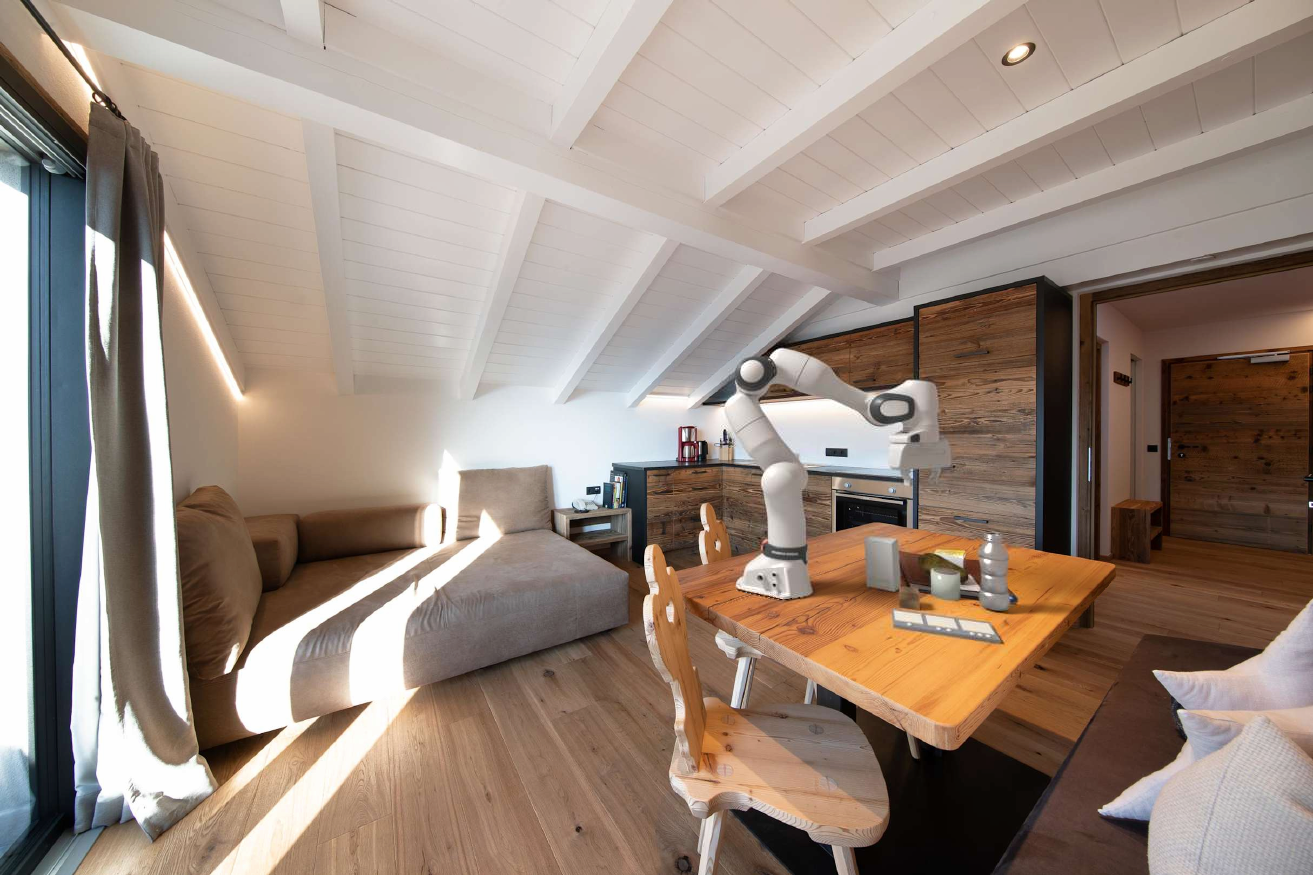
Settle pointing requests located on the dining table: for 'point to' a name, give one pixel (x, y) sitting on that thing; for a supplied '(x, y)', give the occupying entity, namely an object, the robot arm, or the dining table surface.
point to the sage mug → (945, 584)
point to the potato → (940, 565)
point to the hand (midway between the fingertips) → (921, 484)
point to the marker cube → (909, 598)
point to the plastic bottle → (993, 573)
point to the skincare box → (882, 563)
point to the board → (945, 625)
